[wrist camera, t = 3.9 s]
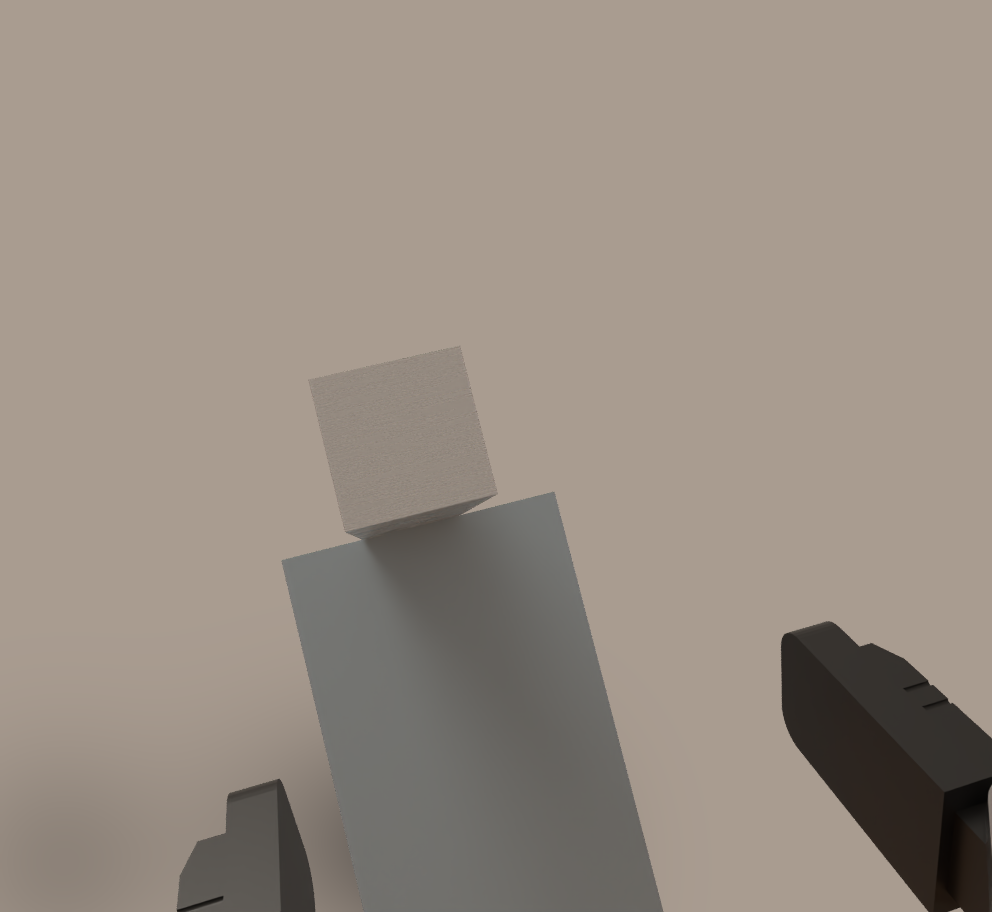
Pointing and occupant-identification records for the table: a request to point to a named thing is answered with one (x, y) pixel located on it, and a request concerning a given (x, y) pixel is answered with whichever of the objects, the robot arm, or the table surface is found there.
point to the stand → (470, 719)
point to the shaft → (403, 442)
